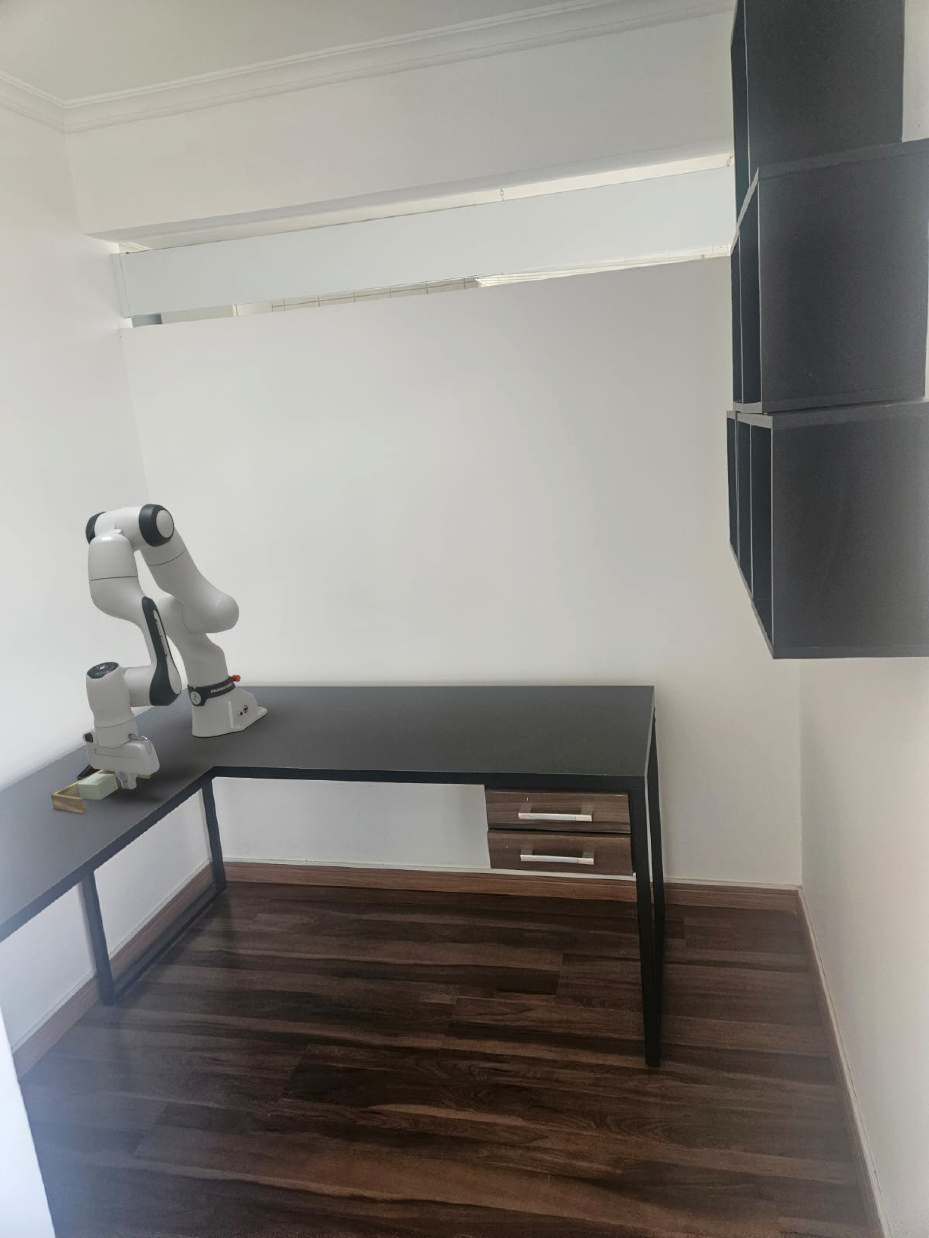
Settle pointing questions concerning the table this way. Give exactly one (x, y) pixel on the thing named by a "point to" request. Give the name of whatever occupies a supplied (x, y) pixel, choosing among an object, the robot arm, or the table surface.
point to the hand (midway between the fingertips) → (129, 787)
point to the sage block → (97, 786)
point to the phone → (87, 772)
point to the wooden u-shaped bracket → (76, 795)
